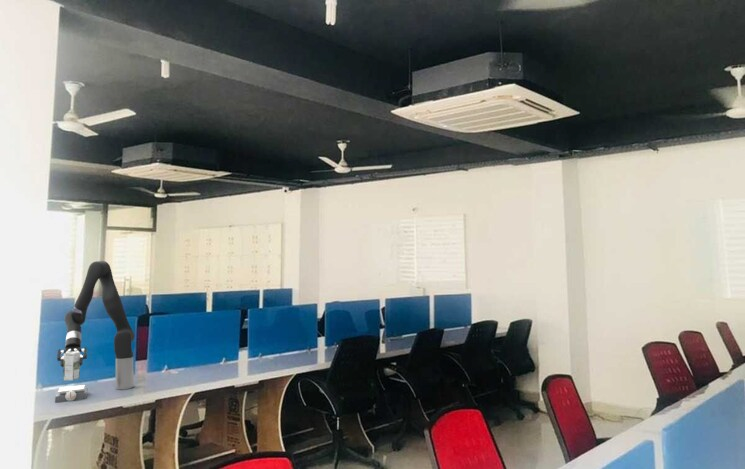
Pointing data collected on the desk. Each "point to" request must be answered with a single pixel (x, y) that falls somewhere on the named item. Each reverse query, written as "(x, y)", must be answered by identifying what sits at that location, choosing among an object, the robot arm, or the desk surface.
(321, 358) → the desk surface
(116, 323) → the robot arm
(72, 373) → the syrup box
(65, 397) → the scale base
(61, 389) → the scale pan
